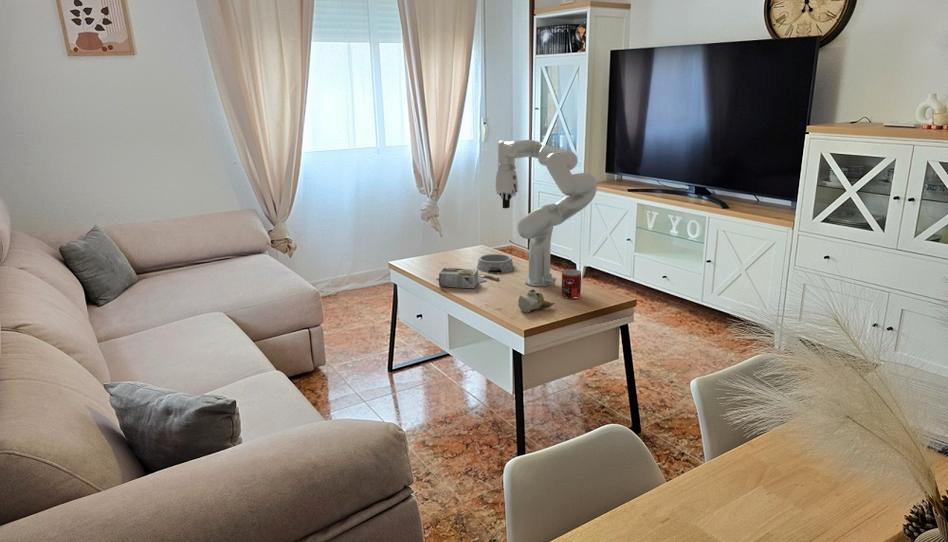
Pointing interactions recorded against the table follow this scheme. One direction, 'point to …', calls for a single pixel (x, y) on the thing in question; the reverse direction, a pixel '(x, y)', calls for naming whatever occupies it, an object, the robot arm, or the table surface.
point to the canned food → (571, 283)
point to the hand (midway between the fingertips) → (506, 207)
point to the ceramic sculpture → (533, 301)
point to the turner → (487, 276)
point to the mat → (478, 280)
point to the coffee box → (458, 277)
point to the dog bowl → (495, 263)
